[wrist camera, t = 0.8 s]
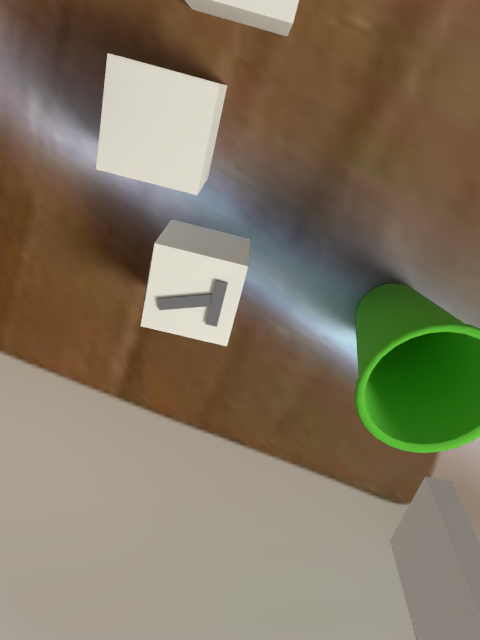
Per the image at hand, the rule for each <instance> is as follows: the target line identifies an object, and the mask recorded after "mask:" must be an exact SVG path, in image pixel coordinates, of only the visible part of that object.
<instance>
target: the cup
mask: <svg viewBox="0 0 480 640" xmlns="http://www.w3.org/2000/svg"><path fill="white" fill-rule="evenodd" d="M355 321H356V338H357V355H358V372H359V377H358V380H357V382H356V389H355V397H354V398H355V404H356V410H357V413H358V415H359V417H360V419H361V421H362V423H363V425H364V426H365V427H366V428H367V429H368V430H369V431H370V432H371V434H372V435H373V436H375V437H376V438H378V439H379V440H381V441H383V442H384V443H386V444H387V445H389V446H392V447H395V448H398V449H401V450H404V451H411V452H419V453H427V452H440V451H444V450H449V449H453V448H457V447H459V446H462V445H464V444H466V443H468V442H471V441H473V440H475V439H476V438H478V437H479V436H480V328H477V327H474V326H472V325H469V324H464V323H463V322H462V321H460V320H459V319H457V318H456V317H454V316H453V315H451V314H450V313H448V312H447V311H445V310H444V309H442V308H441V307H439V306H438V305H436V304H435V303H433V302H432V301H430V300H429V299H427V298H426V297H424V296H423V295H421V294H420V293H418V292H417V291H415V290H414V289H412V288H411V287H409V286H406V285H403V284H397V283H392V284H384V285H381V286H378V287H376V288H374V289H372V290H370V291H369V292H368V293H367V294H366V295H365V296H364V297H363V298H362V300H361V301H360V303H359V305H358V307H357V310H356V316H355Z"/></svg>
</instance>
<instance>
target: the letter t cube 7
mask: <svg viewBox="0 0 480 640" xmlns="http://www.w3.org/2000/svg"><path fill="white" fill-rule="evenodd" d="M250 240H251V239H248V238H244V237H240V236H236V235H232V234H228V233H224V232H220V231H217V230H213V229H209V228H205V227H201V226H197V225H193V224H189V223H185V222H181V221H177V220H173V219H171V221H170V222H169V223H168V225H167V226H166V228H165V229H164V230H163V232H162V233H161V235H160V236H159V238H158V239H157V240H156V242H155V243H154V249H153V255H152V258H151V261H150V267H149V273H148V279H147V285H146V291H145V297H144V303H145V304H144V310H143V316H142V322H141V326H142V327H147V328H151V329H155V330H159V331H164V332H168V333H172V334H176V335H181V336H185V337H189V338H193V339H198V340H202V341H206V342H211V343H215V344H219V345H223V346H227V344H228V340H229V337H230V333H231V329H232V325H233V322H234V318H235V314H236V311H237V307H238V303H239V299H240V296H241V292H242V288H243V284H244V281H245V277H246V273H247V270H248V265H249V252H250Z"/></svg>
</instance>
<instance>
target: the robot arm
mask: <svg viewBox="0 0 480 640" xmlns="http://www.w3.org/2000/svg"><path fill="white" fill-rule="evenodd" d="M390 542H391V545H392V549H393V553H394V557H395V561H396V564H397V569H398V572H399V576H400V580H401V584H402V587H403V591H404V595H405V599H406V603H407V607H408V610H409V614H410V618H411V622H412V626H413V629H414V633H415V637H416V640H480V542H479V540H478V538H477V535H476V533H475V531H474V529H473V527H472V524H471V522H470V520H469V518H468V516H467V514H466V511H465V509H464V507H463V505H462V503H461V500H460V498H459V496H458V494H457V491H456V489H455V487H454V485H453V483H452V482H451V481H445V480H440V479H435V478H430V477H425V478H424V480H423V482H422V484H421V485H420V487H419V489H418V491H417V493H416V494H415V496H414V498H413V500H412V502H411V503H410V505H409V507H408V509H407V511H406V513H405V514H404V517H403V518H402V520H401V522H400V524H399V525H398V527H397V529H396V531H395V532H394V534H393V536H392V538H391V540H390Z"/></svg>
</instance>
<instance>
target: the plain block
mask: <svg viewBox="0 0 480 640" xmlns="http://www.w3.org/2000/svg"><path fill="white" fill-rule="evenodd" d="M226 89H227V85H224V84H220V83H217V82H213V81H209V80H206V79H202V78H198V77H195V76H191V75H187V74H184V73H180V72H177V71H173V70H169V69H166V68H162V67H158V66H155V65H151V64H148V63H144V62H140V61H137V60H133V59H129V58H125V57H121V56H117V55H113V54H109V53H107V63H106V73H105V83H104V93H103V104H102V114H101V124H100V134H99V144H98V154H97V165H96V169H97V170H101V171H104V172H108V173H112V174H116V175H120V176H124V177H128V178H132V179H135V180H139V181H143V182H147V183H151V184H155V185H159V186H163V187H167V188H170V189H174V190H178V191H182V192H186V193H190V194H194V195H198V193H199V192H200V190H201V189H202V187H203V185H204V184H205V182H206V181H207V179H208V175H209V171H210V166H211V161H212V156H213V151H214V146H215V142H216V137H217V132H218V127H219V122H220V117H221V113H222V108H223V103H224V98H225V93H226Z"/></svg>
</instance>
